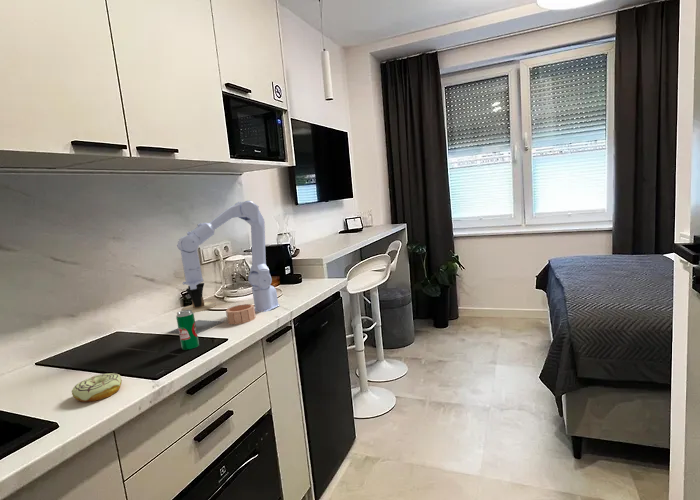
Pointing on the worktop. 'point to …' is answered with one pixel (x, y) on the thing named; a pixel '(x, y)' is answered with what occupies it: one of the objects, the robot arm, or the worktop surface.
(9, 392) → the worktop surface
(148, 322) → the worktop surface
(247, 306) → the bowl
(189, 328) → the soda can
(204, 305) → the lid
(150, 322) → the worktop surface
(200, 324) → the mat
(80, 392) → the decorated donut
